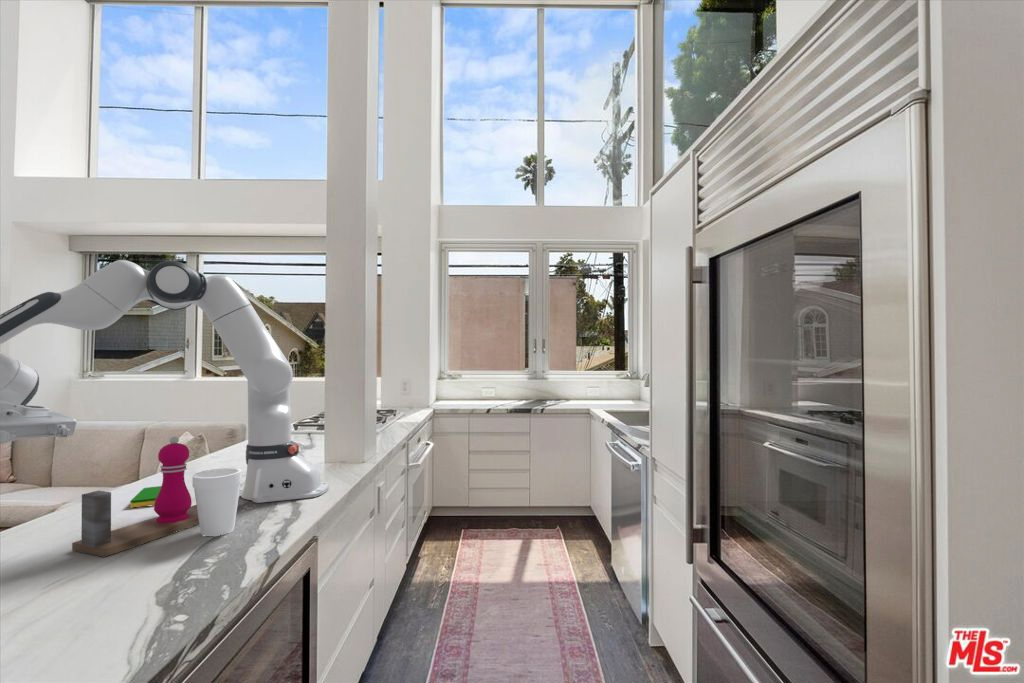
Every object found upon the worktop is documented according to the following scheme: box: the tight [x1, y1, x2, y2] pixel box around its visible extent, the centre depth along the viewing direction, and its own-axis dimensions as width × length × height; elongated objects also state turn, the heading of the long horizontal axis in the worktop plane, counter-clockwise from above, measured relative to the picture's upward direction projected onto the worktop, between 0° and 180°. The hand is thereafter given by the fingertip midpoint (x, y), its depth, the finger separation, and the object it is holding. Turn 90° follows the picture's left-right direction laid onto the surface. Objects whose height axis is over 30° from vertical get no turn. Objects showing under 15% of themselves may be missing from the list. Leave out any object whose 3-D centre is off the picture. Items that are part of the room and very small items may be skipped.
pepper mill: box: [153, 436, 192, 523], centre depth 117 cm, size 7×7×20 cm
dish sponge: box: [129, 485, 162, 509], centre depth 138 cm, size 7×14×2 cm, turn 24°
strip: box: [71, 490, 199, 558], centre depth 114 cm, size 28×10×12 cm, turn 159°
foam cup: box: [192, 467, 243, 537], centre depth 113 cm, size 10×9×13 cm
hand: (39, 435), depth 103 cm, fingers open, 8 cm apart
